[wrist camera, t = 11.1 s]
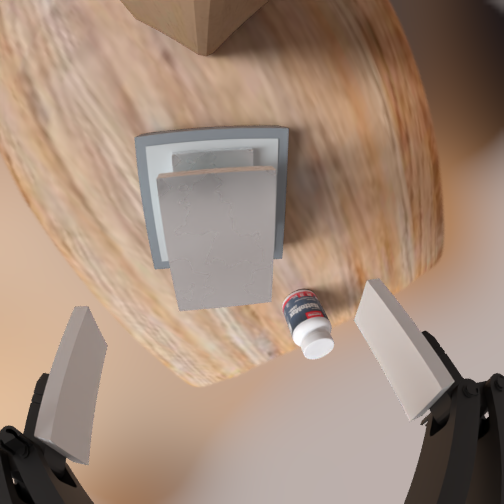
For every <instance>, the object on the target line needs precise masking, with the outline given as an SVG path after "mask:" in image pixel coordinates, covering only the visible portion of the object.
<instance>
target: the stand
mask: <svg viewBox="0 0 504 504" xmlns="http://www.w3.org/2000/svg"><path fill="white" fill-rule="evenodd" d="M288 134H289V128H286V127H282V126H222V127H204V128H191V129H180V130H170V131H162V132H154V133H146V134H141V135H139V136H137V137H135V148H136V158H137V167H138V175H139V183H140V190H141V197H142V204H143V210H144V216H145V222H146V228H147V233H148V239H149V244H150V249H151V254H152V259H153V263H154V268H155V269H165V268H170V265H169V259H168V254H167V248H166V243H165V237H164V231H163V225H162V218H161V212H160V205H159V197H158V190H157V182H156V178H157V177H158V175H159V174H161V173H170V172H173V167H172V153H174V152H183V151H194V150H206V149H221V148H241V147H251V148H252V149H253V166H272V167H274V168H275V169H276V200H275V230H274V255H273V259H282V253H283V238H284V222H285V204H286V185H287V162H288Z"/></svg>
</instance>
